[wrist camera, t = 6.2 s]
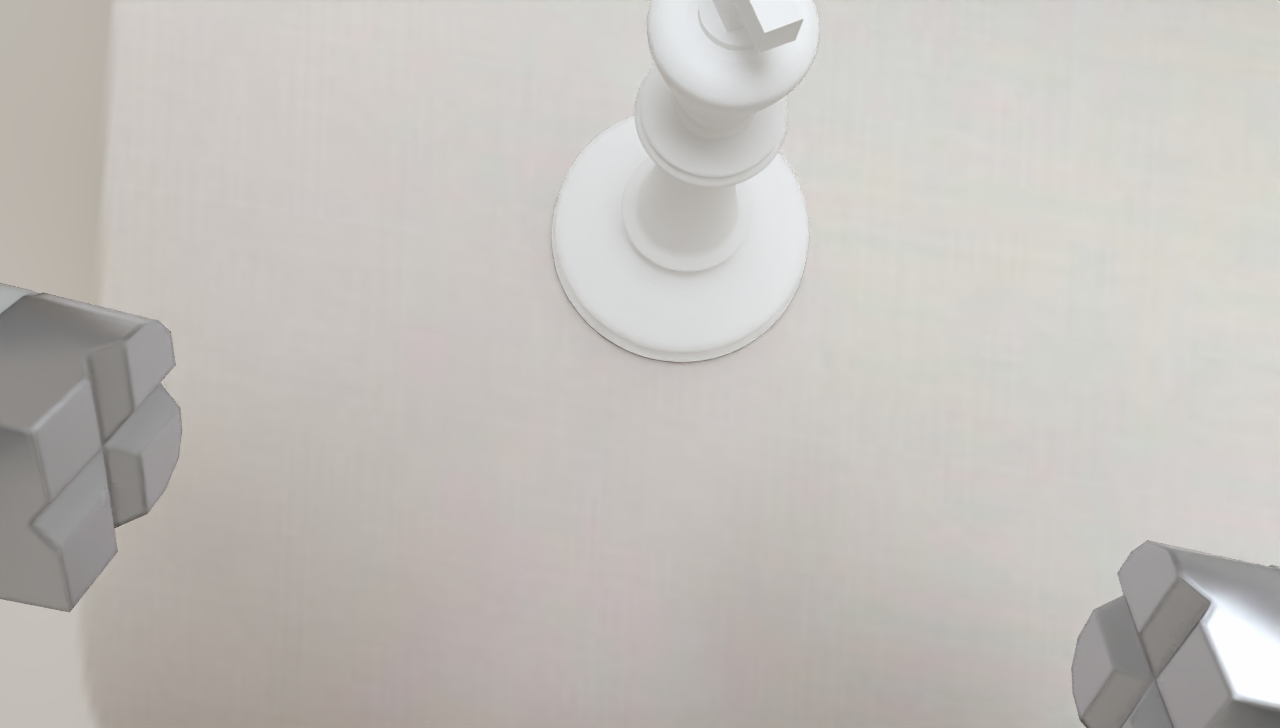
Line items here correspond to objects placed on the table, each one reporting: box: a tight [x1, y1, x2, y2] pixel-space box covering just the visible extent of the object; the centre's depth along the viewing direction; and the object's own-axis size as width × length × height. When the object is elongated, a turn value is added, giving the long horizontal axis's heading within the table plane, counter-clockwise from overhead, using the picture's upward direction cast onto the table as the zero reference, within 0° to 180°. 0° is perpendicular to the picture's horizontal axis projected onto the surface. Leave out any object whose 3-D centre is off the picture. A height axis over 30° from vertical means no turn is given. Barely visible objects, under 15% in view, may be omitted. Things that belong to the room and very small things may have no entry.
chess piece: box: [551, 0, 820, 362], centre depth 15 cm, size 5×5×10 cm
